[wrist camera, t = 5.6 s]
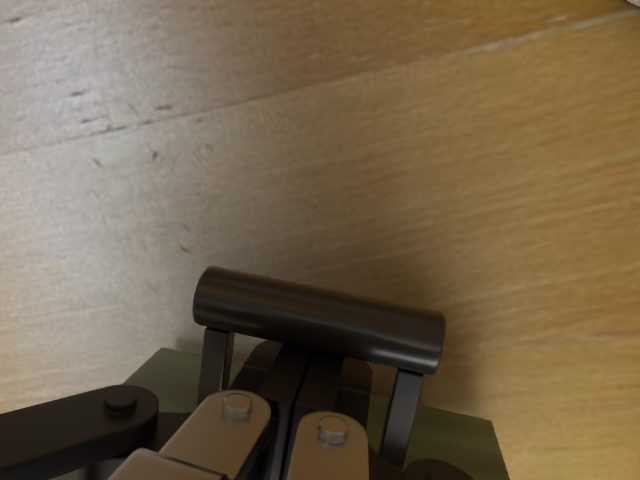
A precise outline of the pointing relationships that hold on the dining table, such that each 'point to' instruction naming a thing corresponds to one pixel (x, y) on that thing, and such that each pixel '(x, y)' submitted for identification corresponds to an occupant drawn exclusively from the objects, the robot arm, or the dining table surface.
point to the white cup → (634, 2)
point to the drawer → (336, 338)
